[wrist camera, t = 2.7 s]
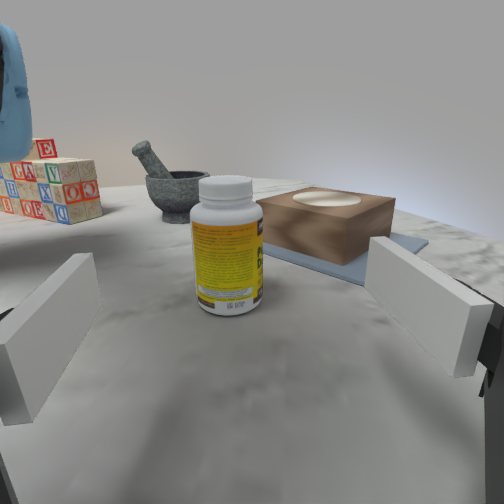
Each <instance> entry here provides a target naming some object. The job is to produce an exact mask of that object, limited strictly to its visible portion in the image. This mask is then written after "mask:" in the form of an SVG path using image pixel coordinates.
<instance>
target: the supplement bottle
mask: <svg viewBox="0 0 504 504" xmlns="http://www.w3.org/2000/svg"><path fill="white" fill-rule="evenodd" d="M198 183H199V196H200V197H199V201H200V202H201V203H198V204H196V205H195V206H194V207H193V208H192V209H191V211H190V225H191V237H192V249H193V261H194V273H195V285H196V296H197V301H198V303H199V305H200V306H201V307H202V308H203V309H205V310H206V311H208V312H210V313H213V314H217V315H238V314H242V313H245V312H248V311H250V310H252V309H254V308H255V307H256V306H257V305H258V304H259V303H260V301H261V299H262V291H263V211H262V208H261V206H260V205H259V204H257V203H255V202H253V201H251V200H252V199H253V197H252V195H253V191H252V179H251V178H249V177H245V176H236V175H225V176H224V175H223V176H212V177H205V178H202V179H200V180H199V182H198Z"/></svg>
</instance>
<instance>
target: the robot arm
mask: <svg viewBox="0 0 504 504" xmlns="http://www.w3.org/2000/svg"><path fill="white" fill-rule="evenodd" d="M27 93H28V88H27V77H26V71H25V65H24V61H23V55H22V51H21V47H20V43H19V41H18V37H17V35H16V33H15V31H14V30H13V29H12V28H10V27H8V26H6V25H3V24H1V23H0V164H1V163H10V162H17V161H20V160H23V159H24V158H26V157H27V156H28V154H29V153H30V151H31V147H32V118H31V108H30V101H29V97H28V94H27ZM364 287H365V288H366V289H367V291H368V292H369V293H370V294H371V295H372V296H373V297H374V298H375V299H376V300H377V301H378V302H379V303H380V304H381V305H382V306H383V307H384V308H385V309H386V310H387V311H388V312H389V313H390V314H391V315H392V316H393V317H394V318H395V319H396V321H397V322H398V323H399V324H400V325H401V326H402V327H403V328H404V329H405V330H406V331H407V332H408V333H409V334H410V335H411V336H412V337H413V338H414V339H415V340H416V341H417V342H418V343H419V344H420V345H421V346H422V347H423V348H424V349H425V351H426V352H427V353H428V354H429V355H430V356H431V357H432V358H433V359H434V360H435V361H436V362H437V363H438V364H439V365H440V366H441V367H442V368H443V369H444V370H445V371H446V372H447V373H448V374H449V375H450V376H451V377H452V378H457V377H467V376H473V375H474V372H475V368H476V365H477V361H479V362H481V363H482V364H483V365H484V366H485V367H486V368H487V370H486V374H485V377H484V380H483V383H482V387H481V390H480V393H479V397H482V398H483V396H484V408H485V488H486V504H504V307H503V306H501V305H500V304H498V303H496V302H495V301H493V300H491V299H490V298H488V297H487V296H485V295H483V294H481V293H480V292H478V291H477V290H475V289H472V287H470V286H468V285H467V284H465V283H464V282H462V281H459V280H457V279H454V278H452V277H450V276H448V275H447V274H445V273H444V272H442V271H440V270H439V269H437V268H435V267H434V266H432V265H431V264H429V263H427V262H426V261H424V260H423V259H421V258H419V257H418V256H416V255H414V254H413V253H411V252H410V251H408V250H406V249H405V248H403V247H401V246H400V245H398V244H397V243H395V242H393V241H392V240H390V239H389V238H387V237H385V236H381V237H370V243H369V251H368V259H367V267H366V276H365V284H364ZM102 308H103V301H102V297H101V292H100V287H99V282H98V277H97V273H96V268H95V263H94V258H93V254H92V253H76V254H73V255H72V256H71V257H70V258H69V259H68V260H67V261H66V262H65V263H64V264H62V265H61V266H60V267H59V268H58V269H57V270H56V271H55V272H54V273H53V274H52V275H50V276H49V277H48V278H47V279H46V280H45V281H44V282H43V283H42V284H41V285H39V286H38V287H37V288H36V289H35V290H34V291H33V292H32V293H31V294H30V295H29V296H27V297H26V298H25V299H24V300H23V301H22V302H21V303H20V304H19V305H18V306H16V307H15V308H11V309H9V310H7V311H5V312H3V313H2V314H0V417H1V419H2V422H3V424H4V426H7V425H16V424H26V423H33V421H34V419H35V418H36V416H37V415H38V413H39V411H40V410H41V408H42V406H43V405H44V403H45V401H46V400H47V398H48V396H49V395H50V393H51V391H52V390H53V388H54V387H55V385H56V383H57V382H58V380H59V378H60V377H61V375H62V373H63V372H64V370H65V368H66V367H67V365H68V364H69V362H70V360H71V359H72V357H73V355H74V354H75V352H76V350H77V349H78V347H79V345H80V344H81V342H82V340H83V339H84V337H85V336H86V334H87V332H88V331H89V329H90V327H91V326H92V324H93V322H94V321H95V319H96V317H97V316H98V314H99V312H100V311H101V309H102ZM0 504H19V503H18V500H17V498H16V495H15V492H14V489H13V487H12V484H11V481H10V478H9V476H8V473H7V470H6V467H5V465H4V462H3V459H2V456H1V454H0Z"/></svg>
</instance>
